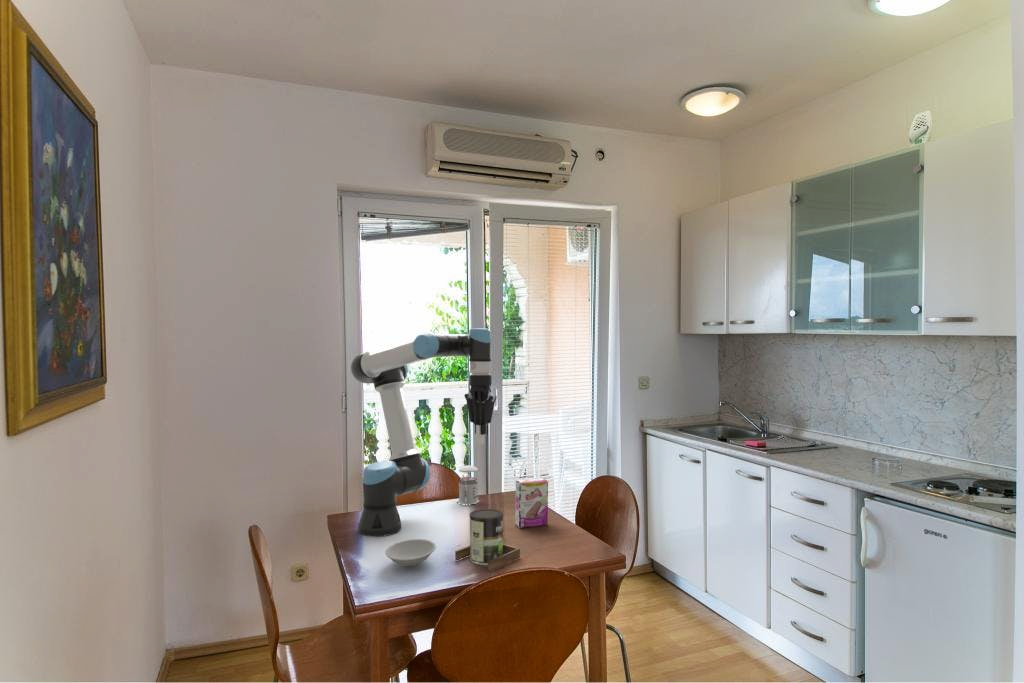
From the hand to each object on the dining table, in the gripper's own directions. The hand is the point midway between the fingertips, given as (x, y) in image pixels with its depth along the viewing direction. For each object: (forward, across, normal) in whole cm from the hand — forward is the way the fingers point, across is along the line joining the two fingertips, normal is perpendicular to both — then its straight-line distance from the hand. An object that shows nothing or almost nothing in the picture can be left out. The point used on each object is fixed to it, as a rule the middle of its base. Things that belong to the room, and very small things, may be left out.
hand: (480, 443), depth 197 cm
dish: (+33, -1, -30) cm, 44 cm away
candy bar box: (+33, +4, +23) cm, 40 cm away
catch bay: (+32, +14, -12) cm, 37 cm away
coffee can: (+33, +14, -12) cm, 37 cm away
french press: (+33, -35, +30) cm, 57 cm away
